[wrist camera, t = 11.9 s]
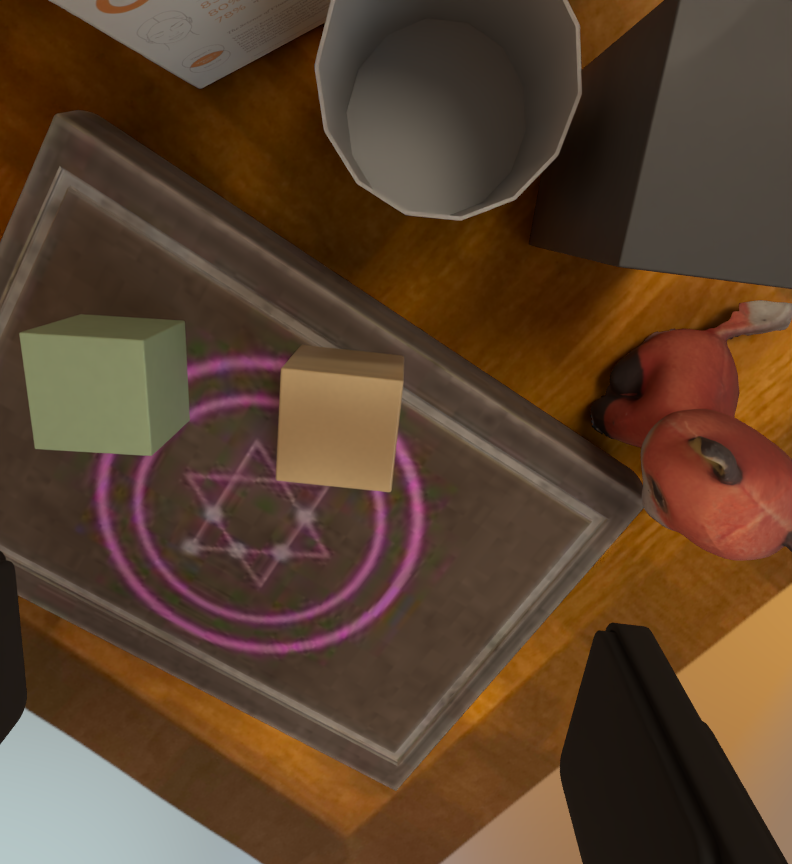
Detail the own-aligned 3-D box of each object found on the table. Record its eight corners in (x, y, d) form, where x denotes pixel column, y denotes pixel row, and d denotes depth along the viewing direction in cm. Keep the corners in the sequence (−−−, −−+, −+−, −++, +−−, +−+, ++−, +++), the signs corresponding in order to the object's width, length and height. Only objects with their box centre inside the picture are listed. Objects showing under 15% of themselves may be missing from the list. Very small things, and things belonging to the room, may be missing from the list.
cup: (562, 91, 29) (638, 29, 19) (463, 252, 31) (487, 267, 22) (404, -21, 27) (401, -147, 18) (313, 155, 30) (268, 127, 20)
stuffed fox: (813, 331, 32) (1035, 395, 21) (664, 497, 35) (785, 632, 24) (702, 245, 31) (873, 262, 19) (557, 425, 34) (631, 531, 23)
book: (-52, 483, 36) (-123, 524, 31) (115, 119, 29) (58, 100, 25) (397, 725, 41) (396, 792, 36) (621, 457, 34) (656, 495, 30)
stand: (556, 90, 29) (682, -17, 15) (681, 107, 29) (913, 14, 16) (528, 245, 31) (617, 266, 18) (644, 259, 31) (820, 292, 18)
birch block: (300, 344, 28) (280, 367, 23) (404, 355, 28) (403, 380, 23) (294, 441, 29) (274, 481, 25) (393, 452, 29) (391, 493, 25)
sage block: (80, 313, 27) (18, 332, 23) (185, 320, 27) (143, 339, 23) (90, 414, 29) (34, 449, 25) (190, 420, 29) (151, 456, 25)
